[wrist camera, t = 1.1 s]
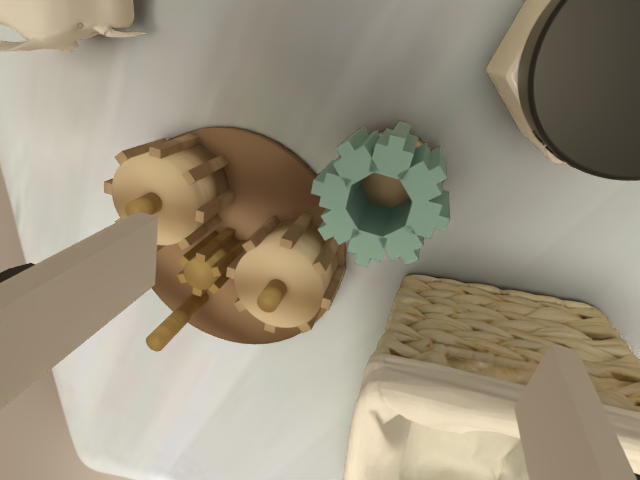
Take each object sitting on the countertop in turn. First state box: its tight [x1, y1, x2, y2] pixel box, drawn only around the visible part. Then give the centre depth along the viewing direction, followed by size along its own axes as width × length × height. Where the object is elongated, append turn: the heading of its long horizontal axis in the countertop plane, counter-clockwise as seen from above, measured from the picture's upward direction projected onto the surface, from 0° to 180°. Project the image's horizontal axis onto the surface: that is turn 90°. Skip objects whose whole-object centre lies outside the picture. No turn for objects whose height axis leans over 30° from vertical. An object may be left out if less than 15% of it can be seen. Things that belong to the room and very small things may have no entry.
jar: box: [486, 0, 640, 181], centre depth 20 cm, size 9×8×12 cm
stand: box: [360, 131, 424, 208], centre depth 29 cm, size 6×6×3 cm
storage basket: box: [343, 275, 640, 480], centre depth 30 cm, size 24×16×15 cm
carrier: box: [104, 127, 346, 351], centre depth 33 cm, size 19×19×8 cm
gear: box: [311, 121, 450, 267], centre depth 26 cm, size 8×8×5 cm
